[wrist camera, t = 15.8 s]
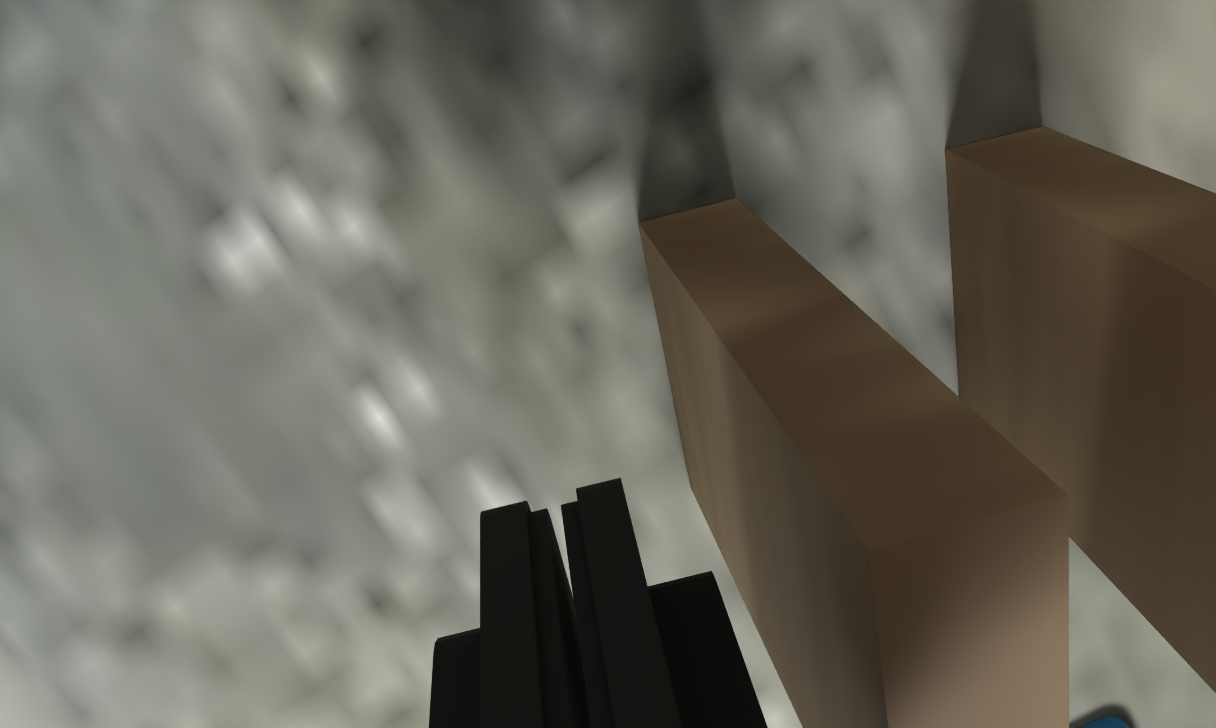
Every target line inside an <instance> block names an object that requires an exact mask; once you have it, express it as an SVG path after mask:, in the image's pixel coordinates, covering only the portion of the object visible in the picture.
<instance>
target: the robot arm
mask: <svg viewBox="0 0 1216 728" xmlns="http://www.w3.org/2000/svg"><path fill="white" fill-rule="evenodd" d="M576 493H577V499H578V501H575V502H571V503H567V504H563V505H561V510H562V518H563V525H564V533H565V540H566V547H567V555H568V562H569V569H570V577H571V584H572V591H573V596H572V592H571V589H570V585H569V582H568V578H567V575H566V571H565V568H564V564H563V560H562V557H561V553H560V550H559V546H558V543H557V539H556V536H555V532H554V529H553V525H552V521H551V518H550V515H549V512H548V510H547V508H546V509H542V510H538V511H534V512H531V510H530V507H529V504H528V502H527V501H523V502H519V503H515V504H511V505H507V506H502V507H498V508H494V509H490V510H486V511H482V512H481V515H480V628H477V629H473V630H469V631H465V632H461V633H457V634H453V635H449V636H445V637H441V638H438V639H437V640H436V642H435V646H434V653H433V670H432V686H431V702H430V718H429V728H768V727H767V725H766V722H765V719H764V716H763V713H762V710H761V708H760V705H759V702H758V699H757V696H756V693H755V690H754V688H753V685H752V682H751V679H750V676H749V673H748V670H747V668H746V665H745V662H744V659H743V656H742V653H741V651H740V648H739V645H738V642H737V639H736V636H735V633H734V631H733V628H732V625H731V622H730V619H729V616H728V614H727V611H726V608H725V605H724V602H723V599H722V596H721V594H720V591H719V588H718V585H717V582H716V580H715V577H714V575H713V573H712V571H709V572H705V573H701V574H697V575H693V576H689V577H685V578H681V579H677V580H673V581H669V582H664V583H660V584H656V585H652V586H648V587H647V583H646V579H645V575H644V571H643V567H642V563H641V558H640V554H639V550H638V546H637V542H636V538H635V534H634V530H633V526H632V522H631V518H630V514H629V510H628V506H627V502H626V498H625V494H624V490H623V486H622V482H621V478H617V479H613V480H609V481H605V482H601V483H597V484H593V485H589V486H585V487H580V488H576Z"/></svg>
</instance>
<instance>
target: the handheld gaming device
mask: <svg viewBox="0 0 1216 728" xmlns="http://www.w3.org/2000/svg"><path fill="white" fill-rule="evenodd" d="M1081 728H1129V726H1128V725H1127V724H1126V723H1125V721H1124V720H1122V719H1120V718H1118V717H1104V718H1100V719H1097V720H1095V721H1093V722H1091V723H1089V724H1087V725H1085V726H1083V727H1081Z"/></svg>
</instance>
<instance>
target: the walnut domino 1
mask: <svg viewBox="0 0 1216 728" xmlns="http://www.w3.org/2000/svg"><path fill="white" fill-rule="evenodd" d="M639 228H640V233H641V238H642V243H643V249H644V254H645V259H646V264H647V269H648V274H649V279H650V284H651V289H652V294H653V299H654V304H655V309H656V314H657V319H658V324H659V329H660V334H661V339H662V344H663V350H664V355H665V360H666V365H667V370H668V375H669V380H670V385H671V390H672V395H673V400H674V405H675V410H676V415H677V420H678V425H679V430H680V435H681V440H682V445H683V451H684V456H685V461H686V466H687V471H688V476H689V481H690V486H691V489H692V491H693V493H694V495H695V498H696V500H697V502H698V504H699V506H700V508H701V510H702V513H703V515H704V517H705V519H706V521H707V523H708V525H709V528H710V530H711V532H712V534H713V536H714V538H715V540H716V543H717V545H718V547H719V549H720V551H721V553H722V555H723V557H724V560H725V562H726V564H727V566H728V568H729V570H730V572H731V575H732V577H733V579H734V581H735V583H736V585H737V587H738V590H739V592H740V594H741V596H742V598H743V600H744V602H745V605H746V607H747V609H748V611H749V613H750V615H751V617H752V619H753V622H754V624H755V626H756V628H757V630H758V632H759V634H760V637H761V639H762V641H763V643H764V645H765V647H766V649H767V652H768V654H769V656H770V658H771V660H772V662H773V664H774V667H775V669H776V671H777V673H778V675H779V677H780V679H781V682H782V684H783V686H784V688H785V690H786V692H787V694H788V696H789V699H790V701H791V703H792V705H793V707H794V709H795V711H796V714H797V716H798V718H799V720H800V722H801V724H802V726H803V728H1069V538H1068V494H1067V493H1066V492H1065V491H1064V490H1063V489H1061V488H1060V487H1059V486H1058V485H1057V484H1056V483H1055V482H1054V481H1052V480H1051V479H1050V478H1049V477H1048V476H1047V475H1046V474H1045V473H1043V472H1042V471H1041V470H1040V469H1039V468H1038V467H1037V466H1036V465H1035V464H1033V463H1032V462H1031V461H1030V460H1029V459H1028V458H1027V457H1026V456H1024V455H1023V454H1022V453H1021V452H1020V451H1019V450H1018V449H1017V448H1016V447H1014V446H1013V445H1012V444H1011V443H1010V442H1009V441H1008V440H1007V439H1005V438H1004V437H1003V436H1002V435H1001V434H1000V433H999V432H998V431H996V430H995V429H994V428H993V427H992V426H991V425H990V424H989V423H988V422H986V421H985V420H984V419H983V418H982V417H981V416H980V415H979V414H977V413H976V412H975V411H974V410H973V409H972V408H971V407H970V406H969V405H967V404H966V403H965V402H964V401H963V400H962V399H961V398H960V397H958V396H957V395H956V394H955V393H954V392H953V391H952V390H951V389H949V388H948V387H947V386H946V385H945V384H944V383H943V382H942V381H941V380H939V379H938V378H937V377H936V376H935V375H934V374H933V373H932V372H930V371H929V370H928V369H927V368H926V367H925V366H924V365H923V364H922V363H920V362H919V361H918V360H917V359H916V358H915V357H914V356H913V355H911V354H910V353H909V352H908V351H907V350H906V349H905V348H904V347H902V346H901V345H900V344H899V343H898V342H897V341H896V340H895V339H894V338H892V337H891V336H890V335H889V334H888V333H887V332H886V331H885V330H883V329H882V328H881V327H880V326H879V325H878V324H877V323H876V322H875V321H873V320H872V319H871V318H870V317H869V316H868V315H867V314H866V313H864V312H863V311H862V310H861V309H860V308H859V307H858V306H857V305H856V304H854V303H853V302H852V301H851V300H850V299H849V298H848V297H847V296H845V295H844V294H843V293H842V292H841V291H840V290H839V289H838V288H836V287H835V286H834V285H833V284H832V283H831V282H830V281H829V280H828V279H826V278H825V277H824V276H823V275H822V274H821V273H820V272H819V271H817V270H816V269H815V268H814V267H813V266H812V265H811V264H810V263H809V262H807V261H806V260H805V259H804V258H803V257H802V256H801V255H800V254H798V253H797V252H796V251H795V250H794V249H793V248H792V247H791V246H789V245H788V244H787V243H786V242H785V241H784V240H783V239H782V238H781V237H779V236H778V235H777V234H776V233H775V232H774V231H773V230H772V229H770V228H769V227H768V226H767V225H766V224H765V223H764V222H763V221H762V220H760V219H759V218H758V217H757V216H756V215H755V214H754V213H753V212H751V211H750V210H749V209H748V208H747V207H746V206H745V205H744V204H742V203H741V202H740V201H739V200H738V199H737V198H735V199H731V200H727V201H723V202H719V203H715V204H711V205H707V206H703V207H699V208H695V209H691V210H687V211H683V212H679V213H675V214H671V215H667V216H663V217H659V218H655V219H651V220H647V221H643V222H639Z"/></svg>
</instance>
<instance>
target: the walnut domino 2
mask: <svg viewBox="0 0 1216 728" xmlns="http://www.w3.org/2000/svg"><path fill="white" fill-rule="evenodd" d="M945 154H946V171H947V189H948V207H949V224H950V242H951V260H952V277H953V295H954V313H955V330H956V348H957V366H958V383H959V397H960V398H961V399H962V400H963V401H964V402H965V403H966V404H967V405H969V406H970V407H971V408H972V409H973V410H974V411H975V412H976V413H977V414H979V415H980V416H981V417H982V418H983V419H984V420H985V421H986V422H988V423H989V424H990V425H991V426H992V427H993V428H994V429H995V430H996V431H998V432H999V433H1000V434H1001V435H1002V436H1003V437H1004V438H1005V439H1007V440H1008V441H1009V442H1010V443H1011V444H1012V445H1013V446H1014V447H1016V448H1017V449H1018V450H1019V451H1020V452H1021V453H1022V454H1023V455H1024V456H1026V457H1027V458H1028V459H1029V460H1030V461H1031V462H1032V463H1033V464H1035V465H1036V466H1037V467H1038V468H1039V469H1040V470H1041V471H1042V472H1043V473H1045V474H1046V475H1047V476H1048V477H1049V478H1050V479H1051V480H1052V481H1054V482H1055V483H1056V484H1057V485H1058V486H1059V487H1060V488H1061V489H1063V490H1064V491H1065V492H1066V493H1067V494H1068V536H1069V537H1070V538H1071V539H1072V540H1073V541H1074V542H1075V543H1076V544H1077V545H1078V547H1079V548H1080V549H1081V550H1082V551H1083V552H1084V553H1085V554H1086V555H1087V556H1088V557H1089V558H1090V559H1091V560H1092V561H1093V563H1094V564H1095V565H1096V566H1097V567H1098V568H1099V569H1100V570H1101V571H1102V572H1103V573H1104V574H1105V575H1106V576H1107V577H1108V579H1109V580H1110V581H1111V582H1112V583H1113V584H1114V585H1115V586H1116V587H1117V588H1118V589H1119V590H1120V591H1121V592H1122V594H1123V595H1124V596H1125V597H1126V598H1127V599H1128V600H1129V601H1130V602H1131V603H1132V604H1133V605H1134V606H1135V607H1136V608H1137V610H1138V611H1139V612H1140V613H1141V614H1142V615H1143V616H1144V617H1145V618H1146V619H1147V620H1148V621H1149V622H1150V623H1151V625H1152V626H1153V627H1154V628H1155V629H1156V630H1157V631H1158V632H1159V633H1160V634H1161V635H1162V636H1163V637H1164V638H1165V639H1166V641H1167V642H1168V643H1169V644H1170V645H1171V646H1172V647H1173V648H1174V649H1175V650H1176V651H1177V652H1178V653H1179V654H1180V656H1181V657H1182V658H1183V659H1184V660H1185V661H1186V662H1187V663H1188V664H1189V665H1190V666H1191V667H1192V668H1193V669H1194V670H1195V672H1196V673H1197V674H1198V675H1199V676H1200V677H1201V678H1202V679H1203V680H1204V681H1205V682H1206V683H1207V684H1208V685H1209V687H1210V688H1211V689H1212V690H1213V691H1214V692H1215V693H1216V194H1215V193H1213V192H1210V191H1208V190H1205V189H1203V188H1200V187H1197V186H1195V185H1192V184H1190V183H1187V182H1185V181H1182V180H1179V179H1177V178H1174V177H1172V176H1169V175H1167V174H1164V173H1161V172H1159V171H1156V170H1154V169H1151V168H1149V167H1146V166H1143V165H1141V164H1138V163H1136V162H1133V161H1131V160H1128V159H1125V158H1123V157H1120V156H1118V155H1115V154H1113V153H1110V152H1107V151H1105V150H1102V149H1100V148H1097V147H1095V146H1092V145H1089V144H1087V143H1084V142H1082V141H1079V140H1077V139H1074V138H1071V137H1069V136H1066V135H1064V134H1061V133H1059V132H1056V131H1053V130H1051V129H1048V128H1046V127H1038V128H1034V129H1030V130H1025V131H1021V132H1017V133H1013V134H1008V135H1004V136H1000V137H995V138H991V139H987V140H983V141H978V142H974V143H970V144H965V145H961V146H957V147H953V148H948V149H945Z"/></svg>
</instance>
